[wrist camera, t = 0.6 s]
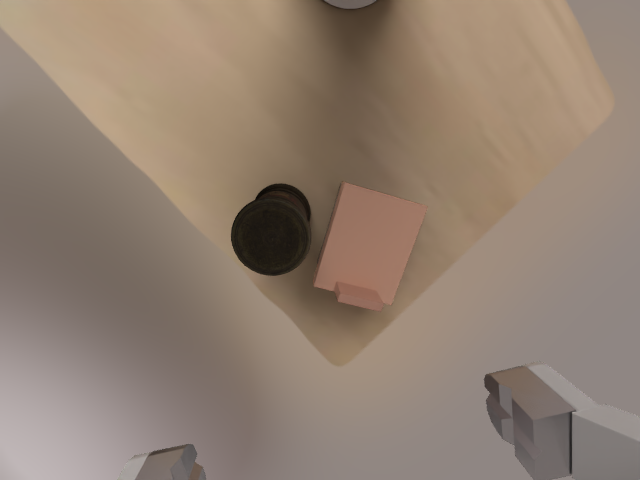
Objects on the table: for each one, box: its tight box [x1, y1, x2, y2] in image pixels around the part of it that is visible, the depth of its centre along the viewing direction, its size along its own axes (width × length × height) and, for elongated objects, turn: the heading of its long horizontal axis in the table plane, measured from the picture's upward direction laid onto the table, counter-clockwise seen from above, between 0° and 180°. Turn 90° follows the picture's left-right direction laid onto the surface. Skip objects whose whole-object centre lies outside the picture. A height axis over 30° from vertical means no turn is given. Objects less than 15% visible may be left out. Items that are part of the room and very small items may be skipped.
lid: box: [313, 181, 428, 312], centre depth 40 cm, size 15×12×6 cm
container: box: [231, 184, 311, 276], centre depth 39 cm, size 9×9×18 cm
